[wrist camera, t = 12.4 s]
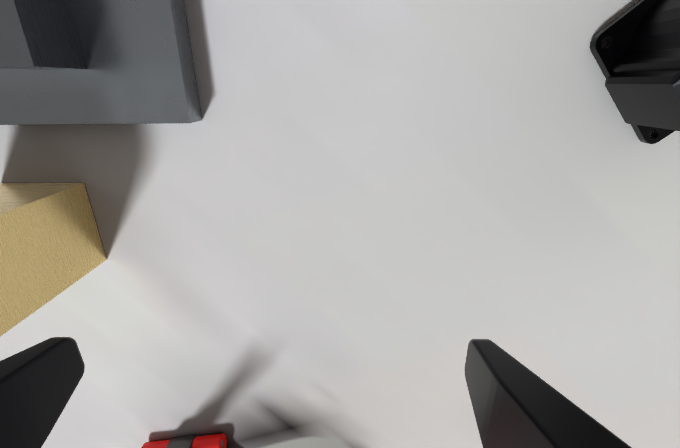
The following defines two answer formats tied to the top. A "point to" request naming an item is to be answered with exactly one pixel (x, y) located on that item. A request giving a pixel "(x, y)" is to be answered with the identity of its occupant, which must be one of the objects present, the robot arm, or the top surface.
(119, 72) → the grey base plate
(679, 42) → the robot arm
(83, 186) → the gold open box
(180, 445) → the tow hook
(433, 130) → the top surface
